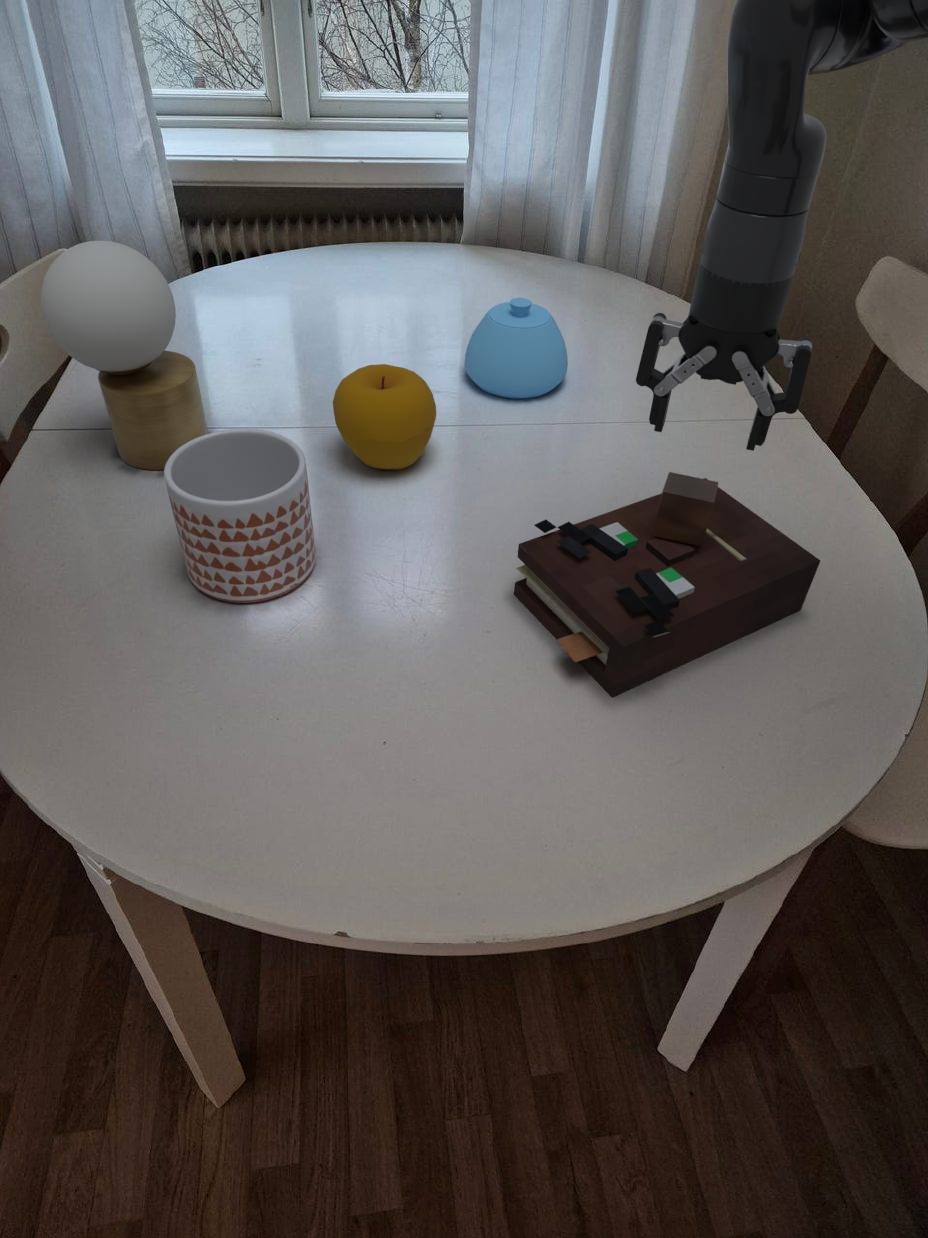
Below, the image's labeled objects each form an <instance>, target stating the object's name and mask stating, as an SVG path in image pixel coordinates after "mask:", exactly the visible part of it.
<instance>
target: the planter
mask: <svg viewBox="0 0 928 1238" xmlns="http://www.w3.org/2000/svg"><path fill="white" fill-rule="evenodd" d="M163 476H164V482H165V486H166V490H167V494H168V499H169V503H170V507H171V510H172V515H173V519H174V523H175V527H176V531H177V536H178V540H179V545H180V548H181V552H182V557H183V561H184V565H185V569H186V571H187V572H186V573H187V576H188V578H189V580H190V582H191V583H192V584H193V585H194V587H195V588H196V589H198V590H199V592H202V593H203V594H205V595H206V596H208V597H210V598H213V599H216V600H219V601H223V602H229V603H237V604H250V603H259V602H265V601H269V600H272V599H275V598H278V597H281V596H283V595H285V594H288V593H290V592H291V591H293V590H295V589H296V588H297V587H299V586H300V585H301V584H302V583H304V582H305V581H306V579H307V578H308V577H309V576H310V574H311V573H312V571H313V569H314V567H315V564H316V559H317V558H316V557H317V556H316V543H315V534H314V524H313V515H312V505H311V497H310V488H309V487H310V486H309V479H308V478H309V477H308V469H307V461H306V457H305V454H304V452H303V451H302V449H301V447H299V445H298V444H297V443H296V442H294V441H292V440H291V439H290V438H288V437H286V436H284V435H282V434H280V433H276V432H273V431H269V430H265V429H258V428H257V429H256V428H231V429H224V430H217V431H213V432H210V433H209V432H208V434H206V435H203V436H200V437H198V438H195V439H193V440H191V441H189V442H187V443H186V444H184V445H182V446H181V447H180V448H178V449H177V450H176V451H175V452H174V453H173V454H172V455H171V456H170V458H169V459H168V461H167V463H166V465H165V469H164V470H163Z"/></svg>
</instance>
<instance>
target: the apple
mask: <svg viewBox="0 0 928 1238" xmlns="http://www.w3.org/2000/svg"><path fill="white" fill-rule="evenodd" d="M332 399H333V400H332V409H333V416H334V422H335V425H336V427H337V429H338V431H339V434H340V436H341V437H342V440H343V441H344V443H345V444H346V445H347V446H348V448H349V449H350V450H351V451H352V453H353V454H354V455H355V456H356V457H357V458H358V459H360V461H362V463H364V464H365V465H366V466H369V467H371V468H373V469H380V470H403V469H405V468H407V467H409V466H412V465H413V464H414V463H416V461H418V459H419V458H420V457H421V456H422V455H423V453H424V451H425V450H426V447H427V445H428V443H429V441H430V440H431V437H432V434H433V430H434V426H435V423H436V420H437V419H436V418H437V404H436V401H435V398H434V394H433V392H432V390H431V388H430V386H429V385H428V383H427V382H426V380H425V379H424V378H423V377H421V376H420V375H419V374H418V373H416V371H413V370H410V369H408V368H405V367H401V366H396V365H392V364H386V363H382V364H381V363H380V364H369V365H365V366H362V367H359V368H357V369H355V370H354V371H353V372H351V373H349V374H348V375H347V376H345V377H344V378H343V379H341V380H340V382H339V384H338V385H337V387H336V389H335V391H334V395H333V398H332Z"/></svg>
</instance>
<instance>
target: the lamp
mask: <svg viewBox="0 0 928 1238" xmlns="http://www.w3.org/2000/svg"><path fill="white" fill-rule="evenodd" d="M40 300H41V301H40V304H41V305H40V306H41V311H42V315H43V319H44V322H45V324H46V327H47V329H48V331H49V333H50V335H51V337H52V338H53V339H54V341H55V342H56V343H57V345H58V346H59V348H61V349H62V350H63V351H64V352H65V353H66V354H67V355H68V356H69V357H71V358H72V359H73V360H75V361H76V362H78V363H80V364H82V365H83V366H85V367H88V368H91V369H95V370H96V371H98V375H97V380H98V384H99V387H100V388H99V389H100V391H101V394H102V398H103V403H104V406H105V409H106V411H107V416H108V419H109V423H110V426H111V431H112V434H113V437H114V440H115V444H116V449H117V452H118V456H119V457H120V458H121V460H122V461H123V462H124V463H126V464H127V465H129V466H131V467H134V468H137V469H141V470H146V471H164V469H165V465H166V463H167V461H168V459H169V458H170V456H171V455H172V454H173V453H174V452H175V451H176V450H177V449H178V448H180V447H181V446H182V445H184V444H186V443H187V442H189V441H191V440H193V439H195V438H198V437H200V436H203V435H206V434H209V430H208V425H207V420H206V419H207V418H206V415H205V409H204V404H203V399H202V395H201V388H200V383H199V377H198V374H197V373H198V372H197V369H196V365H195V363H194V361H193V360H192V359H191V358H190V357H189V356H187V355H185V354H182V353H180V352H176V351H171V350H166V349H167V347H168V345H169V344H170V343H171V341H172V338H173V336H174V335H173V334H174V331H175V327H176V318H177V314H176V313H177V312H176V303H175V299H174V295H173V292H172V290H171V287H170V285H169V283H168V281H167V279H166V278H165V276H164V275H163V274H162V271H160V268H158V267H157V266H156V265H155V263H153V262H152V261H151V260H150V259H149V258H148V257H146V256H145V255H144V254H142V253H141V252H139V251H138V250H136V249H134V248H132V247H130V246H128V245H126V244H122V243H119V242H115V241H110V240H89V241H85V242H80V243H77V244H76V245H75V244H74V245H73V246H71V247H69V248H67V249H66V250H65V251H63V252H62V253H60V254H59V255H58V256H57V257H56V258H55V259H54V261H53V262H52V263H51V264H50V266H49V267H48V269H47V271H46V273H45V276H44V278H43V282H42V286H41V291H40Z"/></svg>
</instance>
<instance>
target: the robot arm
mask: <svg viewBox="0 0 928 1238" xmlns="http://www.w3.org/2000/svg"><path fill="white" fill-rule="evenodd" d="M922 40H928V0H736V1H735V5H734V8H733V11H732V14H731V17H730V21H729V27H728V33H727V41H726V43H727V45H726V80H727V82H726V83H727V86H726V87H727V88H726V89H727V122H728V123H727V125H728V144H727V148H726V153H725V156H724V160H723V165H722V169H721V170H722V171H721V175H720V179H719V184H718V188H717V192H716V198H715V202H714V205H713V209H712V212H711V214H710V217H709V220H708V222H707V226H706V230H705V235H704V239H703V243H702V250H701V253H700V258H699V264H698V268H697V274H696V278H695V283H694V286H693V293H692V297H691V301H690V306H689V311H688V316H687V317H686V319H685V320H684V321H683V322H679V321H675V320H670V319H667V316H666V315H665V313H663V312H657V313H655V314H654V315H653V317H652V319H651V321H650V324H649V326H648V327H647V332H646V336H645V340H644V344H643V348H642V353H641V356H640V359H639V360H640V361H639V363H638V369H637V371H636V372H637V374H636V377H635V382H636V384H637V385H638V386H640V387H646V388H648V389H649V390H651V391H652V394H653V396H652V401H651V408H650V412H649V418H648V421H649V425H652V426H654V428H653V431H654V432H657V433H662V432H663V429H664V427H665V423H666V421H667V420H666V419H667V414H668V410H669V404H670V400H671V396H672V390H673V389H675V388H676V387H677V386H678V385H681V384H683V383H684V382H685V381H687V380H688V379H689V378H690V377H691V376H692V375H694V374H696V375H698V376H699V377H700V379H701V380H707V381H714V380H715V381H716V380H717V381H718V380H719V381H721V382H723V383H726V384H728V385H734V386H736V385H737V383H742V382H743V383H744V386H745V387H746V389H747V391H748V393H749V395H750V397H752V398H753V399H754V401H755V404H756V405H757V407H756V411H755V415H754V418H753V421H752V425H751V428H750V431H749V435H748V439H747V444H746V447H745V448H746V449H745V450H746V451H747V450H748V451H752V452H754V451H755V448H756V446H758V447H762V445H763V444H764V443H766V439H767V435H768V432H769V429H770V425H771V422H772V418H773V417H774V416H775V415H776V414H779V413H785V414H787V415H793V414H795V413H796V412H797V411H798V410H799V406H800V401H801V398H802V394H803V389H804V385H805V382H806V377H807V374H808V369H809V365H810V361H811V357H812V352H813V351H812V350H813V339H812V338H811V337H808V336H803V337H800V338H799V339H798V340H791V339H790V340H789V339H782V338H780V335H779V328H780V324H781V321H782V318H783V315H784V310H785V308H786V304H787V300H788V296H789V293H790V291H791V290H790V289H791V286H792V283H793V278H794V276H795V273H796V268H797V265H798V263H799V261H800V257H801V250H802V247H803V243H804V239H805V233H806V228H807V221H808V215H809V210H810V206H811V203H812V200H813V196H814V192H815V189H816V185H817V183H818V182H817V181H818V180H819V179H818V178H819V175H820V170H821V168H822V164H823V159H824V156H825V152H826V147H827V139H828V138H827V137H828V136H827V131H826V127H825V125H824V124H823V122H821V121H820V120H819V119H818V118H816V117H815V116H813V115H810V114H808V113H805V98H806V97H805V95H806V84H807V79H808V76H812V75H821V74H826V73H832V72H837V71H841V70H844V69H848V68H850V67H854V66H857V65H860V64H862V63H866V62H868V61H872V60H873V59H876V58H879V57H881V56H882V55H886V54H888V53H890V52H893V51H894V50H897V49H899V48H901V47H903V46H906V45H908V44H910V43H912V42H915V41H922ZM673 338H678V342H679V344H680V345H681V348H682V350H683V352H684V353H682V354H681V355H680V356H679V357H678V358H677V359H676V360H675V361H674V362H673V363H672V364H671V365H670V366H668V367H667V368H666V369H665V370H664V371H663V372H662V371H660V370H658V369H656V368H655V367H656V363H657V359H658V355H659V351H660V347H666V346H668V345H669V343H670V341H671V340H672V339H673ZM777 355H780V356H781V357H782V358H783V365H784V366H785V368H787V369H790V373H789V377H788V380H787V381H788V382H787V385H786V390H785V391H784V392H776V391H775V389H774V386H773V385H772V382H771V380H770V378H769V377H770V376H769V373H768V371H767V368H766V365H767V364H768V363H769V362H771V361H772V360H773V359H774V358H776V356H777Z"/></svg>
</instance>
